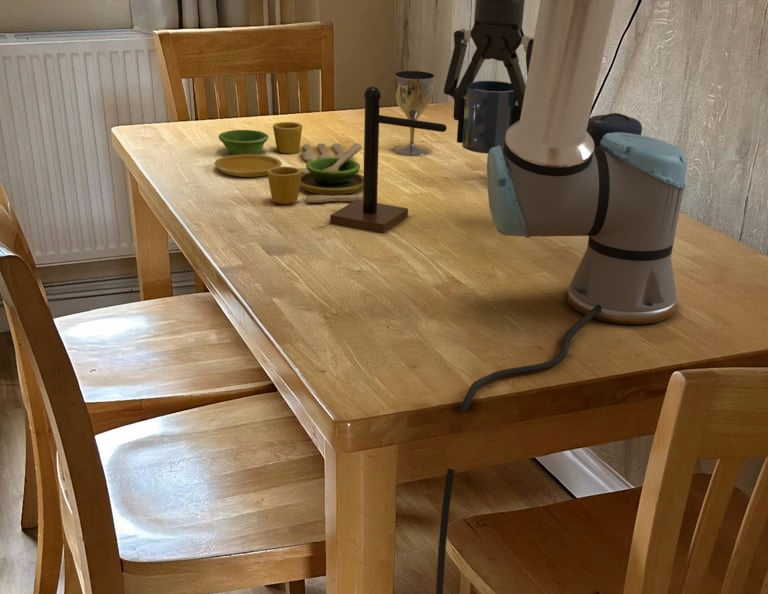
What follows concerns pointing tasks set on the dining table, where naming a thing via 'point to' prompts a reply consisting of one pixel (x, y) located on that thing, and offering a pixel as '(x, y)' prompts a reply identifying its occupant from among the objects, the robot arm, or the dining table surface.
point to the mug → (487, 114)
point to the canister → (611, 126)
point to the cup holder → (376, 172)
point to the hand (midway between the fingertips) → (488, 144)
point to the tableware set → (285, 181)
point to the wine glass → (413, 102)
